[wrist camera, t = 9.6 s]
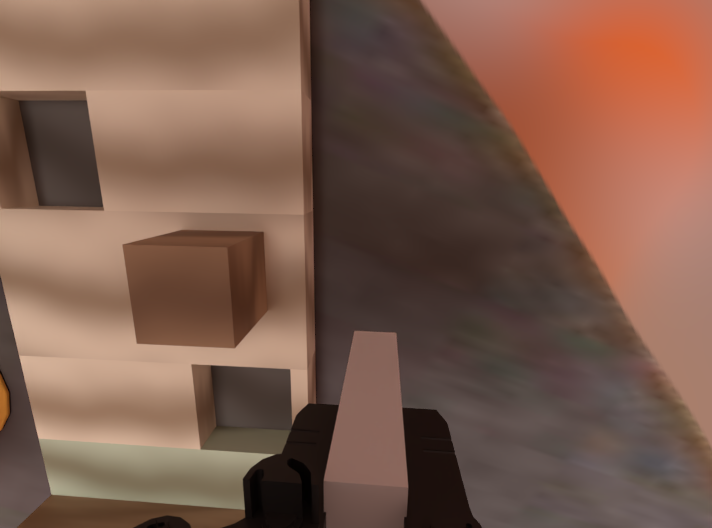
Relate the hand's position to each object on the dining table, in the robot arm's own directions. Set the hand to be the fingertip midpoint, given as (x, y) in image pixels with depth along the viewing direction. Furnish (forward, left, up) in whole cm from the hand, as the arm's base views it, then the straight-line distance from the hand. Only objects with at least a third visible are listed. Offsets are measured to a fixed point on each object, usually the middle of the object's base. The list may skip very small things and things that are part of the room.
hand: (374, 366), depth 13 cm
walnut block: (-2, -8, -7) cm, 11 cm away
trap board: (0, -13, -9) cm, 16 cm away
